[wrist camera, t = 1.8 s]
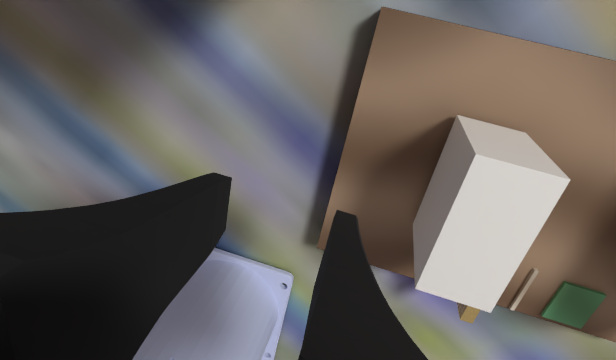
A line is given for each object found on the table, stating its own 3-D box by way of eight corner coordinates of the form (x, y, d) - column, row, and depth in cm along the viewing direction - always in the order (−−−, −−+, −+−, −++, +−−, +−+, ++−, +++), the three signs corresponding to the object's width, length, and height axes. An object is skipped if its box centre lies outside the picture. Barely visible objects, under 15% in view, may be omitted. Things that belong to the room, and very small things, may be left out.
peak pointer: (465, 290, 20) (472, 323, 18) (454, 286, 20) (459, 319, 18) (480, 262, 19) (489, 293, 17) (468, 258, 19) (476, 289, 17)
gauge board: (628, 329, 21) (703, 438, 16) (321, 233, 23) (297, 301, 18) (819, 108, 15) (1044, 164, 10) (383, 6, 17) (373, 7, 12)
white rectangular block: (451, 279, 20) (464, 356, 16) (397, 262, 21) (395, 332, 16) (525, 132, 16) (570, 180, 12) (456, 114, 17) (475, 154, 12)
